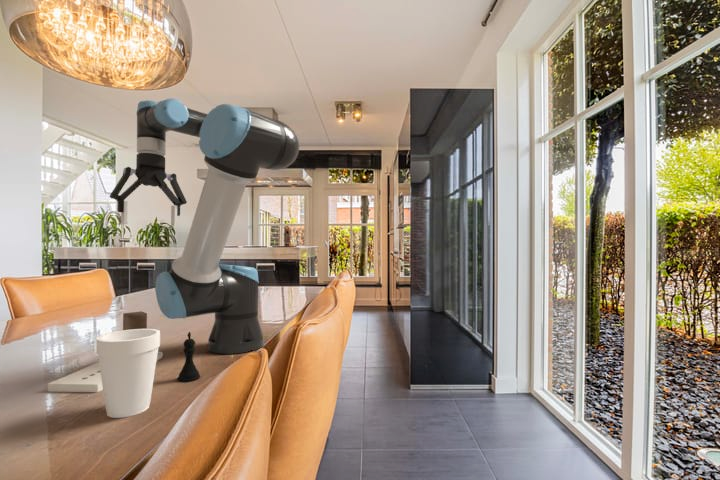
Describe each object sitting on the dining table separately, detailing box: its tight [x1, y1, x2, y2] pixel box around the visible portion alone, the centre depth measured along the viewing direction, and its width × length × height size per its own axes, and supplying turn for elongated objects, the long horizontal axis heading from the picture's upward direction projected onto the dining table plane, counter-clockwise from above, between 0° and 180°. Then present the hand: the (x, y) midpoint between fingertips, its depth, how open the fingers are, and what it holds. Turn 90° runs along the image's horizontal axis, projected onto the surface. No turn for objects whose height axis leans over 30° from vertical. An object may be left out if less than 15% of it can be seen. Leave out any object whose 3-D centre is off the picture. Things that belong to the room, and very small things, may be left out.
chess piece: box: [177, 331, 201, 383], centre depth 78 cm, size 4×4×10 cm
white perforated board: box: [47, 351, 164, 393], centre depth 82 cm, size 10×22×2 cm, turn 178°
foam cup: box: [95, 328, 161, 419], centre depth 63 cm, size 10×9×13 cm
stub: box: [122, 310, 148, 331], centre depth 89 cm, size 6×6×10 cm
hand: (150, 225), depth 109 cm, fingers open, 13 cm apart
